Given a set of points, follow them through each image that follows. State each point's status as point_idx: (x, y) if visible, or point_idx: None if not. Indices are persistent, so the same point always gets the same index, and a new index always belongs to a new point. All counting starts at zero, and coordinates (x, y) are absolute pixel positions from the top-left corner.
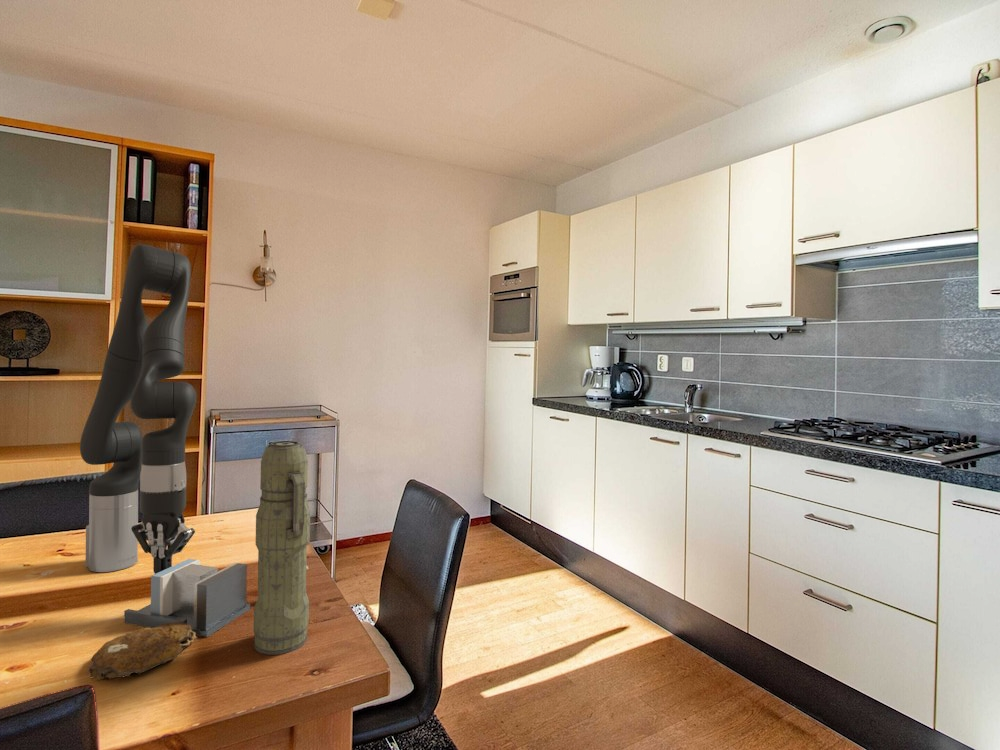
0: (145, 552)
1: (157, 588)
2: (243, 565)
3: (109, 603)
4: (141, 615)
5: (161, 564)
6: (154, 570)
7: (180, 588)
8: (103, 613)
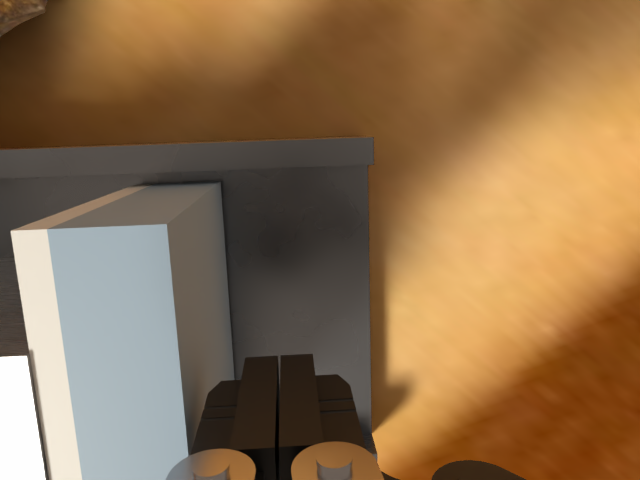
0: (478, 464)
1: (119, 208)
2: None
3: (623, 275)
4: (242, 141)
5: (237, 418)
6: (337, 384)
7: (5, 307)
8: (558, 181)
